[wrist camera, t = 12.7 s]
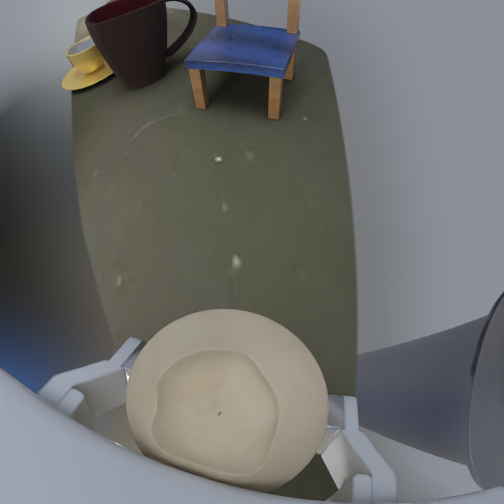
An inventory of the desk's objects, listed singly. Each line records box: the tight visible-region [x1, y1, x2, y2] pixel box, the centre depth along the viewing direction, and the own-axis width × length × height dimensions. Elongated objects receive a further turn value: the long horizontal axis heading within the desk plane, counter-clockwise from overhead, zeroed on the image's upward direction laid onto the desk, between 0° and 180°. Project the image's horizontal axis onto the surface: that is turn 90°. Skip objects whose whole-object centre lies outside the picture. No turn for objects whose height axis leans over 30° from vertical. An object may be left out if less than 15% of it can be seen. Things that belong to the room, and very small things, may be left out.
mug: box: [85, 0, 197, 89], centre depth 29 cm, size 10×14×12 cm
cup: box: [62, 36, 113, 90], centre depth 34 cm, size 12×12×5 cm
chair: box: [185, 0, 301, 120], centre depth 26 cm, size 10×10×15 cm
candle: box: [126, 309, 329, 493], centre depth 10 cm, size 6×6×10 cm
